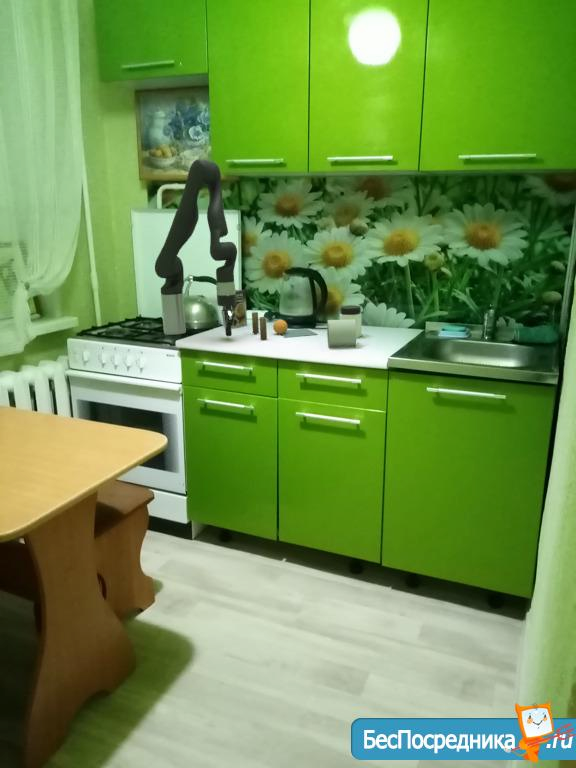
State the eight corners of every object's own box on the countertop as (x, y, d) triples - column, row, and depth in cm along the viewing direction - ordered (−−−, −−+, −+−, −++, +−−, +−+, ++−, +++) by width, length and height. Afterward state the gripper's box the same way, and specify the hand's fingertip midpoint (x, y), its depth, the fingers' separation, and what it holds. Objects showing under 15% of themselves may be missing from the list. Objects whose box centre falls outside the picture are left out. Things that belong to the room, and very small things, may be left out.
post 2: (261, 340, 239) (260, 318, 236) (259, 339, 241) (258, 317, 239) (267, 339, 239) (266, 317, 237) (266, 338, 242) (265, 316, 239)
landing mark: (285, 337, 242) (285, 337, 242) (275, 331, 255) (275, 331, 255) (317, 334, 246) (317, 334, 246) (306, 328, 259) (306, 328, 259)
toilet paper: (353, 342, 229) (353, 317, 226) (356, 348, 219) (356, 321, 217) (327, 343, 229) (327, 318, 226) (329, 349, 219) (328, 322, 217)
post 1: (253, 334, 251) (252, 313, 248) (252, 333, 253) (251, 312, 251) (259, 334, 251) (258, 312, 249) (258, 332, 254) (257, 312, 251)
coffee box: (234, 328, 266) (232, 292, 261) (223, 327, 269) (221, 291, 265) (247, 325, 273) (246, 289, 268) (237, 324, 276) (235, 289, 272)
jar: (342, 339, 236) (341, 309, 233) (337, 335, 244) (337, 306, 241) (363, 337, 237) (364, 307, 234) (358, 333, 245) (358, 304, 242)
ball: (277, 319, 245) (290, 322, 247) (273, 317, 250) (286, 320, 252) (274, 333, 246) (287, 336, 248) (270, 331, 251) (283, 334, 253)
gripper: (213, 292, 243) (216, 333, 247) (220, 295, 230) (222, 339, 235) (231, 290, 245) (234, 332, 249) (238, 294, 232) (241, 337, 237)
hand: (228, 335), depth 242 cm, fingers closed
